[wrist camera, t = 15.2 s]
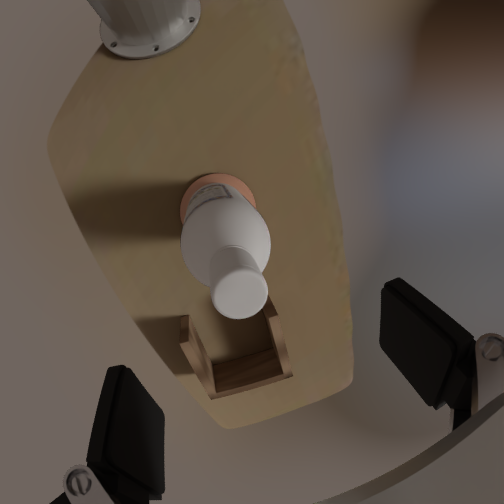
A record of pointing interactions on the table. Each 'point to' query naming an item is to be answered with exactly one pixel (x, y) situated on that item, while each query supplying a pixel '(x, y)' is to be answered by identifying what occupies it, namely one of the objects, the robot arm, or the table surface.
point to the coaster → (214, 179)
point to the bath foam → (227, 249)
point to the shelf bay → (238, 360)
